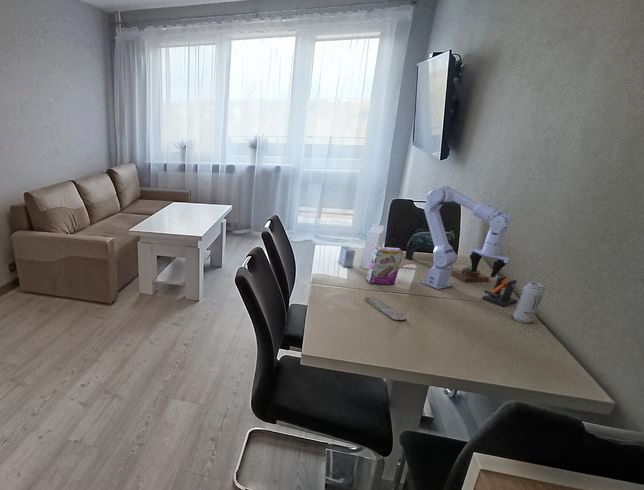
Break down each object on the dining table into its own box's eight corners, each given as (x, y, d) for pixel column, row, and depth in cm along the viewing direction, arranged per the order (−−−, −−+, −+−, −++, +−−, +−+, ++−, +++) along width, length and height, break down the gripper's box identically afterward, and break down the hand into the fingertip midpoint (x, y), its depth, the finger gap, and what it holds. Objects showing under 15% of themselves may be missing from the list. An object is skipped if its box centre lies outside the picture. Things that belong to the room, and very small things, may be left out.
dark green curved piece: (446, 263, 215) (458, 226, 207) (446, 267, 210) (457, 229, 202) (404, 256, 225) (413, 220, 217) (403, 259, 220) (412, 222, 212)
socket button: (470, 272, 194) (471, 269, 193) (464, 269, 197) (465, 266, 196) (478, 272, 194) (479, 269, 193) (472, 269, 198) (473, 266, 197)
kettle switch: (496, 299, 167) (497, 294, 166) (483, 294, 171) (484, 289, 170) (514, 286, 170) (514, 281, 168) (501, 281, 174) (501, 277, 173)
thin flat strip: (373, 298, 174) (373, 296, 173) (407, 319, 155) (407, 317, 155) (362, 299, 173) (362, 297, 173) (395, 320, 154) (395, 318, 154)
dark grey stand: (502, 306, 169) (510, 284, 165) (482, 298, 175) (489, 277, 171) (516, 302, 173) (524, 280, 169) (496, 295, 179) (503, 274, 175)
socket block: (464, 282, 192) (466, 274, 191) (450, 274, 200) (453, 267, 199) (487, 281, 194) (490, 273, 192) (473, 274, 202) (476, 266, 200)
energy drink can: (523, 324, 155) (538, 288, 149) (508, 317, 160) (522, 281, 154) (535, 322, 156) (551, 286, 150) (519, 315, 161) (534, 280, 155)
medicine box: (352, 267, 206) (355, 251, 203) (343, 267, 207) (346, 250, 203) (346, 262, 214) (349, 246, 210) (338, 261, 214) (341, 245, 210)
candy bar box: (369, 284, 187) (377, 249, 181) (366, 279, 192) (373, 246, 185) (395, 285, 186) (404, 251, 180) (391, 281, 191) (399, 247, 184)
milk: (371, 270, 203) (381, 227, 194) (360, 267, 207) (369, 224, 198) (377, 268, 206) (388, 225, 197) (366, 264, 211) (376, 222, 202)
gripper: (518, 246, 164) (507, 278, 169) (480, 237, 176) (471, 266, 181) (508, 249, 161) (497, 281, 166) (470, 238, 173) (461, 269, 178)
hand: (483, 273), depth 173 cm, fingers open, 7 cm apart
